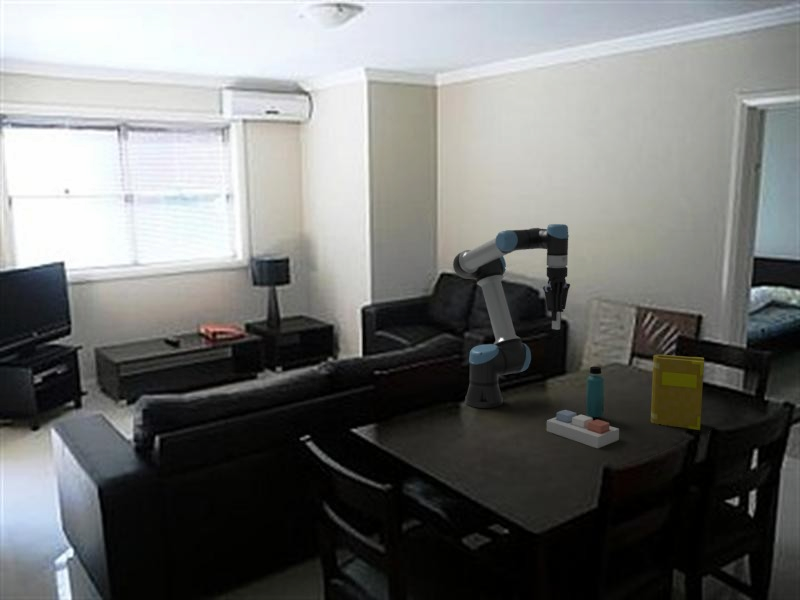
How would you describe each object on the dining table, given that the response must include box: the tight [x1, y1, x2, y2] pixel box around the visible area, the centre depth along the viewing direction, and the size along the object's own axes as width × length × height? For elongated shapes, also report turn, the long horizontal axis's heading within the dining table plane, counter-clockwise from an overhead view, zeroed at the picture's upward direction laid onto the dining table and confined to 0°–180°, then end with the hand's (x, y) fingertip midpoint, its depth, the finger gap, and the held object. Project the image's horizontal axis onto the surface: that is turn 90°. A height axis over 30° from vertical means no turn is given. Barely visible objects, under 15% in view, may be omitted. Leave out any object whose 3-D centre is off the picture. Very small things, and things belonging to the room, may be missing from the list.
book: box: [650, 354, 705, 431], centre depth 252 cm, size 17×7×25 cm, turn 65°
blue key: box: [555, 409, 578, 423], centre depth 249 cm, size 5×5×5 cm
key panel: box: [546, 416, 620, 449], centre depth 244 cm, size 22×12×4 cm, turn 38°
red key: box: [588, 419, 611, 434], centre depth 238 cm, size 5×5×5 cm
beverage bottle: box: [585, 366, 605, 418], centre depth 260 cm, size 6×7×20 cm
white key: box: [572, 414, 594, 429], centre depth 244 cm, size 5×5×5 cm
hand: (555, 328), depth 258 cm, fingers closed
